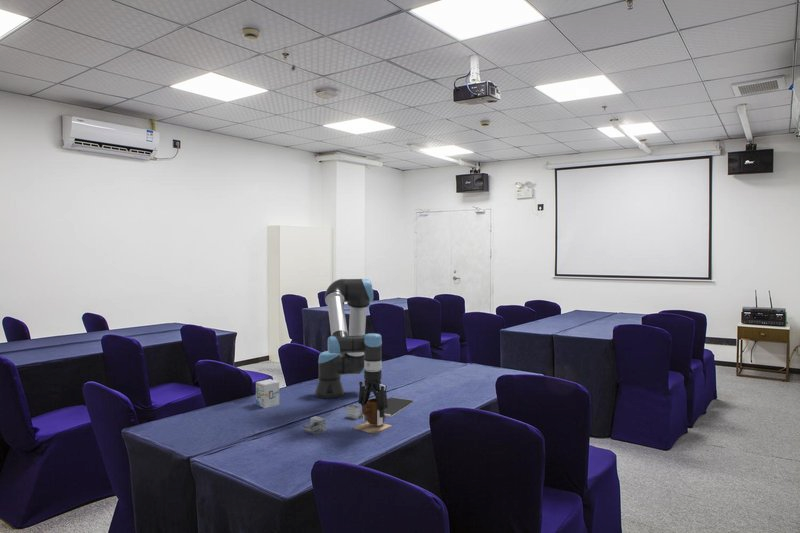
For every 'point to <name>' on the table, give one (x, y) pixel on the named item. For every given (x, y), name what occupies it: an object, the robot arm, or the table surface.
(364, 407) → the mug
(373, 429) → the coaster
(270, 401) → the ink box
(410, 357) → the table surface
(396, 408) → the smartphone
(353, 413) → the grey angular pieces
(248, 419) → the table surface
